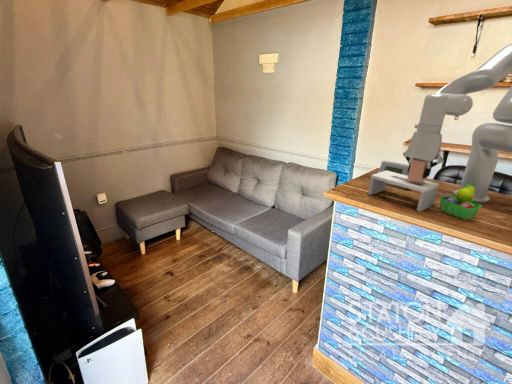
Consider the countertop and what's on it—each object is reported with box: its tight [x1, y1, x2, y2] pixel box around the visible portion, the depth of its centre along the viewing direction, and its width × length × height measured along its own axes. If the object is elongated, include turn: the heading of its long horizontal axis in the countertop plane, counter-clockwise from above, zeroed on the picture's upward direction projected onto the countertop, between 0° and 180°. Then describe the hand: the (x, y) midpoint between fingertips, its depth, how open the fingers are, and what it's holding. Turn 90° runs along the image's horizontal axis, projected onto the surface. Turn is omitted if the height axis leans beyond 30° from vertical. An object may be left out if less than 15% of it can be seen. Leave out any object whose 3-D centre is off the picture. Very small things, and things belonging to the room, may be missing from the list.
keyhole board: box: [368, 170, 440, 213], centre depth 114 cm, size 12×22×9 cm, turn 36°
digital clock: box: [377, 160, 409, 190], centre depth 131 cm, size 16×9×11 cm, turn 31°
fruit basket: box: [439, 184, 483, 220], centre depth 101 cm, size 11×9×11 cm
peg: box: [407, 159, 428, 186], centre depth 108 cm, size 5×5×11 cm
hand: (417, 175), depth 108 cm, fingers closed on peg, 5 cm apart
